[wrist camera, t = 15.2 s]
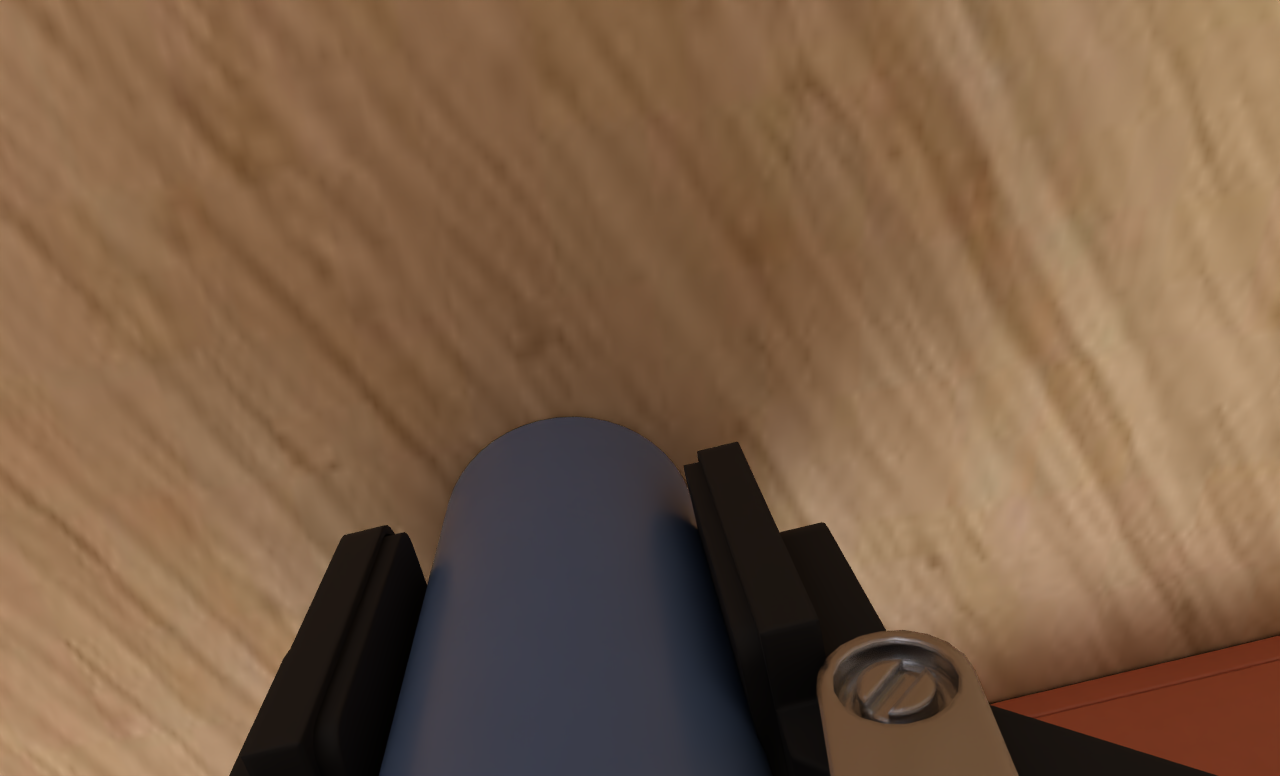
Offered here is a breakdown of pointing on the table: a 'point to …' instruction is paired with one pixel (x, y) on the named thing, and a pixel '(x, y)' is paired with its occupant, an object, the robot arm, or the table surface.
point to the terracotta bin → (1181, 709)
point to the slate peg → (571, 622)
